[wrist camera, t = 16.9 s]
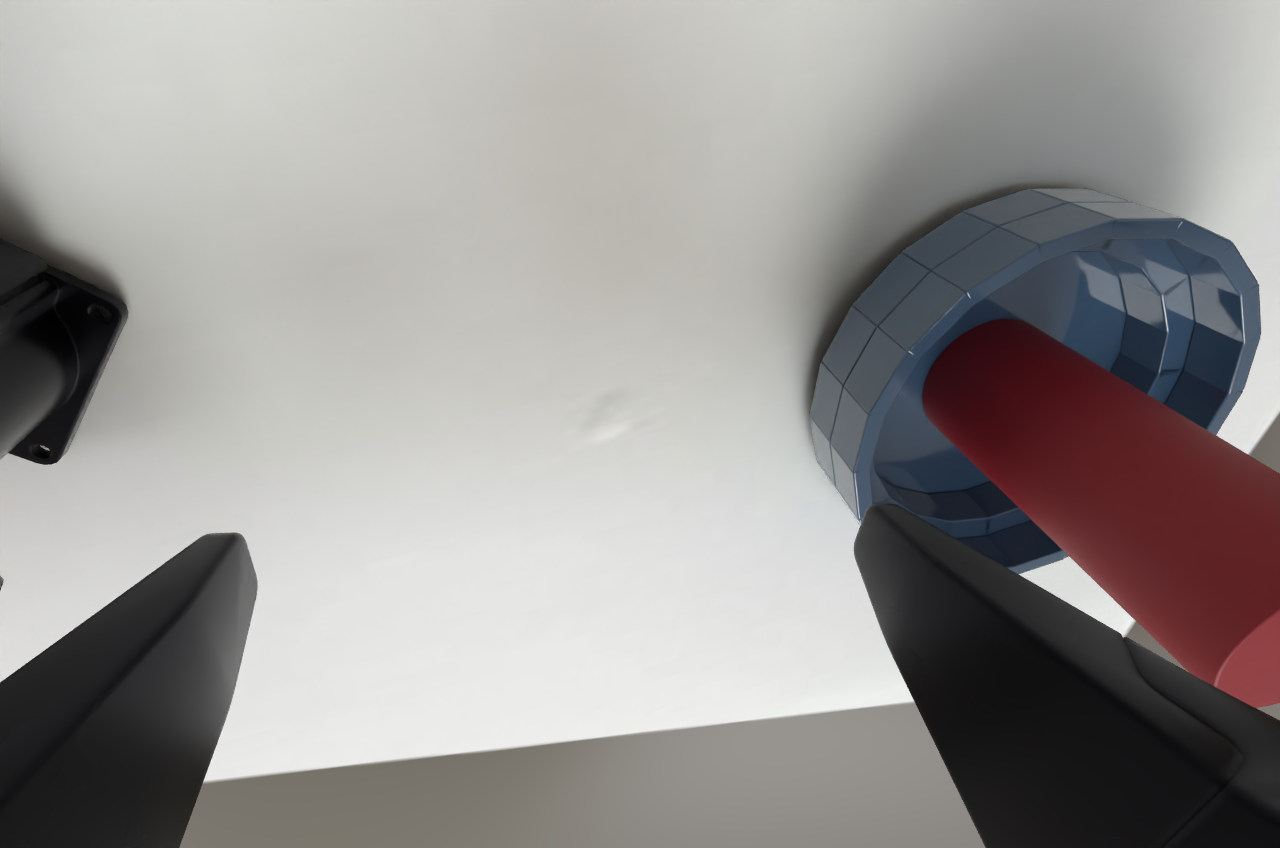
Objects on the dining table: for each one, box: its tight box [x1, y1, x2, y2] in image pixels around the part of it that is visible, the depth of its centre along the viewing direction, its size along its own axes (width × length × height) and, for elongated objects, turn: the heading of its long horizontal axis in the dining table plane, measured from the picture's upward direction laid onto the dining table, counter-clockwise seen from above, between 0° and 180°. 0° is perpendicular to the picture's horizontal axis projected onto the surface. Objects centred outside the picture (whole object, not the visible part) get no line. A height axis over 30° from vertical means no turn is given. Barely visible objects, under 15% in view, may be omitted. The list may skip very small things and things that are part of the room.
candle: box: [922, 319, 1280, 708], centre depth 19 cm, size 5×5×14 cm
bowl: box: [810, 189, 1261, 574], centre depth 24 cm, size 14×14×4 cm
